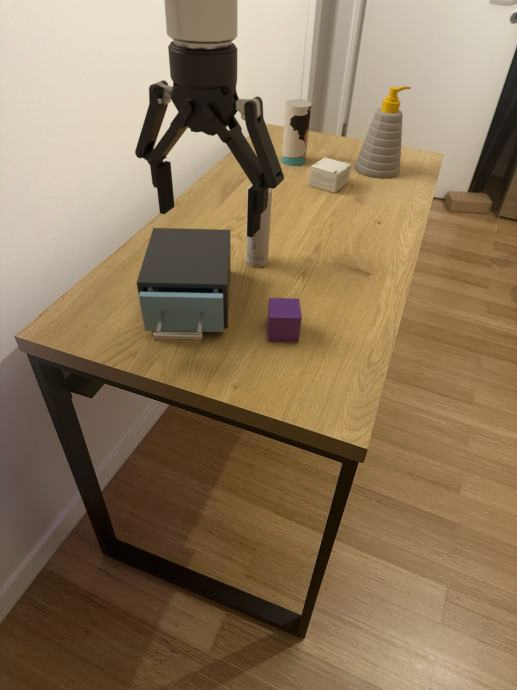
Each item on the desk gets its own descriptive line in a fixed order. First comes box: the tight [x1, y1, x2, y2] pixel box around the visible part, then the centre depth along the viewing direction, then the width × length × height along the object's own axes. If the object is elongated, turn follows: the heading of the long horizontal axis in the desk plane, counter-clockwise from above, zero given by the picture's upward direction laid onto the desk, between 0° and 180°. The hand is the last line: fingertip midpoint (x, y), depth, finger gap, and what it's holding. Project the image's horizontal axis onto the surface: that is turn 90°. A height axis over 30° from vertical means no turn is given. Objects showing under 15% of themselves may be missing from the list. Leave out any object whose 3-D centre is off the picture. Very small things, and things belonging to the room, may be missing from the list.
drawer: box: [138, 287, 225, 343], centre depth 75 cm, size 22×13×7 cm, turn 1°
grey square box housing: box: [136, 227, 232, 329], centre depth 79 cm, size 17×14×9 cm
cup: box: [281, 98, 313, 167], centre depth 125 cm, size 7×7×15 cm
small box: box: [308, 156, 352, 194], centre depth 118 cm, size 8×8×5 cm
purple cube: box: [266, 297, 303, 342], centre depth 75 cm, size 5×5×5 cm
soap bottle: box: [354, 85, 412, 179], centre depth 121 cm, size 12×12×20 cm
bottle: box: [245, 182, 273, 268], centre depth 85 cm, size 4×4×20 cm
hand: (209, 221), depth 64 cm, fingers open, 13 cm apart
